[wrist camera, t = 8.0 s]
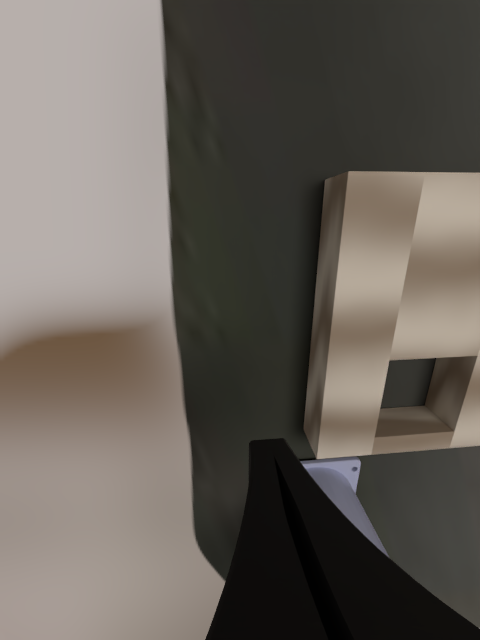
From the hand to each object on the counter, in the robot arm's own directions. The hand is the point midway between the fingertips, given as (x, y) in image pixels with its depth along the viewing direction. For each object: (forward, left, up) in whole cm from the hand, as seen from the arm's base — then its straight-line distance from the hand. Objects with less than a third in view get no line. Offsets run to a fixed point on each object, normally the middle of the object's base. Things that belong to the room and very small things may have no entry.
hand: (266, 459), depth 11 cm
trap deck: (+2, -16, -9) cm, 19 cm away
